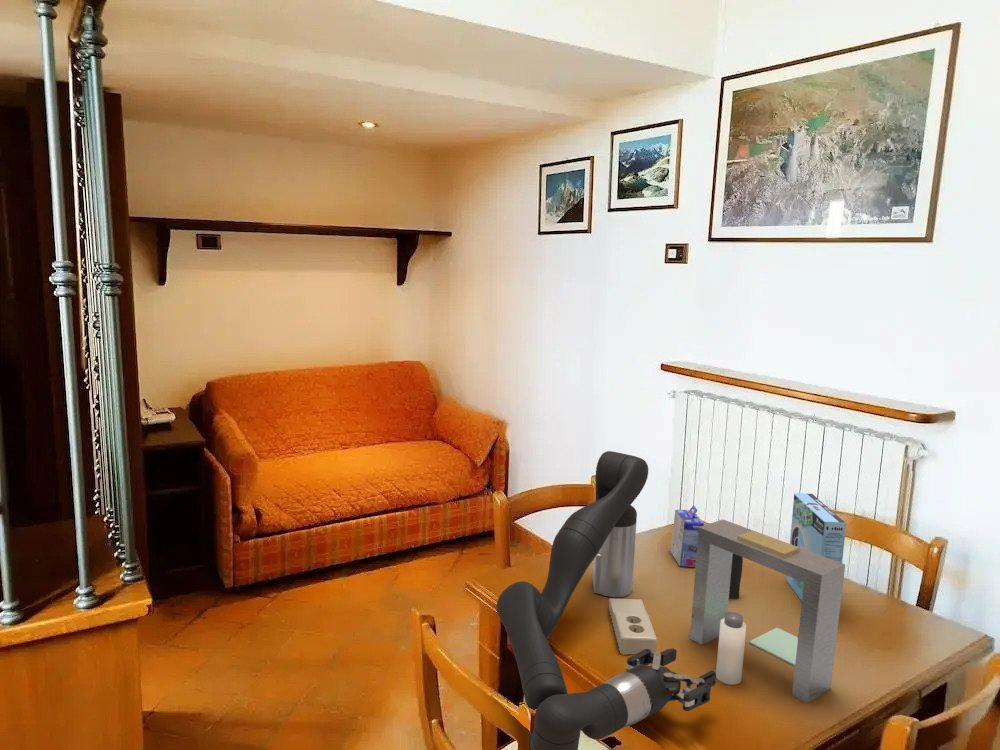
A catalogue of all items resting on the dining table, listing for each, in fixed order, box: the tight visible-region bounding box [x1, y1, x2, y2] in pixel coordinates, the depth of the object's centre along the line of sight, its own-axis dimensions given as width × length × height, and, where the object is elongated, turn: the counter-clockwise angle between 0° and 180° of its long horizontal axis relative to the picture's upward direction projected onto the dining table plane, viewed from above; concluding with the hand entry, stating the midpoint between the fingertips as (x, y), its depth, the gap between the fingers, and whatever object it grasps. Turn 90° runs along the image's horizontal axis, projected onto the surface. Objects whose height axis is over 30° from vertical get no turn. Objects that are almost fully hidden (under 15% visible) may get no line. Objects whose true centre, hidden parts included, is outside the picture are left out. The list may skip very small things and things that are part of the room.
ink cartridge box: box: [670, 505, 705, 568], centre depth 184 cm, size 10×6×14 cm, turn 0°
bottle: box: [715, 611, 747, 686], centre depth 132 cm, size 5×5×12 cm
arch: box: [689, 519, 846, 705], centre depth 136 cm, size 8×26×25 cm, turn 37°
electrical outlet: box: [608, 597, 658, 656], centre depth 148 cm, size 7×4×18 cm
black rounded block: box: [729, 553, 744, 599], centre depth 165 cm, size 7×4×11 cm, turn 87°
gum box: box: [786, 492, 847, 602], centre depth 163 cm, size 20×5×23 cm, turn 176°
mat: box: [748, 627, 798, 667], centre depth 144 cm, size 10×10×1 cm
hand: (694, 664), depth 125 cm, fingers open, 8 cm apart
